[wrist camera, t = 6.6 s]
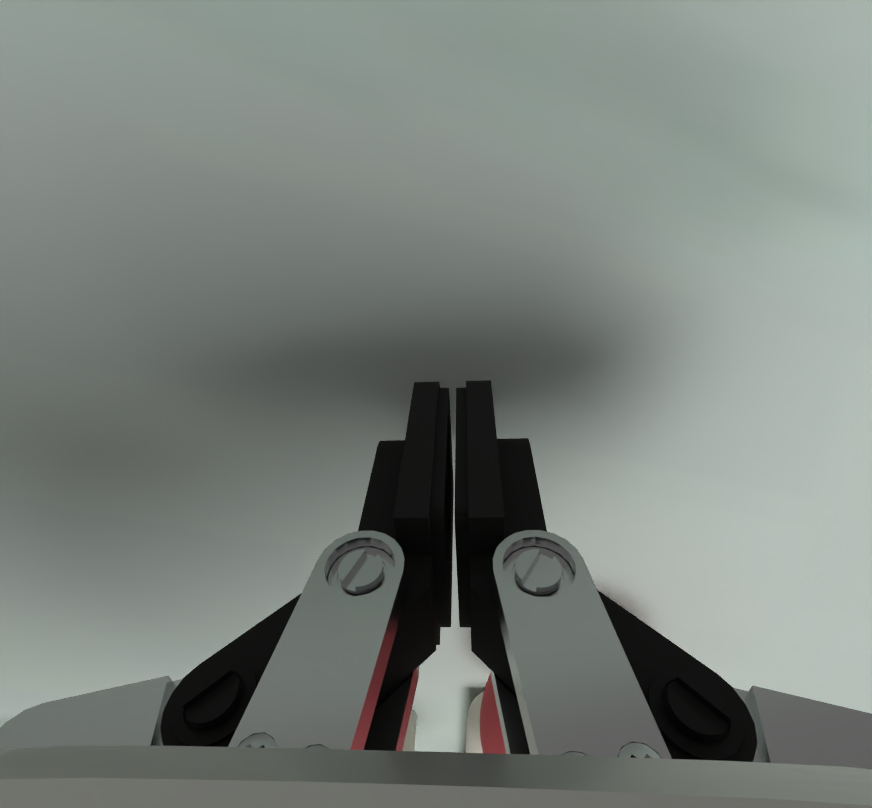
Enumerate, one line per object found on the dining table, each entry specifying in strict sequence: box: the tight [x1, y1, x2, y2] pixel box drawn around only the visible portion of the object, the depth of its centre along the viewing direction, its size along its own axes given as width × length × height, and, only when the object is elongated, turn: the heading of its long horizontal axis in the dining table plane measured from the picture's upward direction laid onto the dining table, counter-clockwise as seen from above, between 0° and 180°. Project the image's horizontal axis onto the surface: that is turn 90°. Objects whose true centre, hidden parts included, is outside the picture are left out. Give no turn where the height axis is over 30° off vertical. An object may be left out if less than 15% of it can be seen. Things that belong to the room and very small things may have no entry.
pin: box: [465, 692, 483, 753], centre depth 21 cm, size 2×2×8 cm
